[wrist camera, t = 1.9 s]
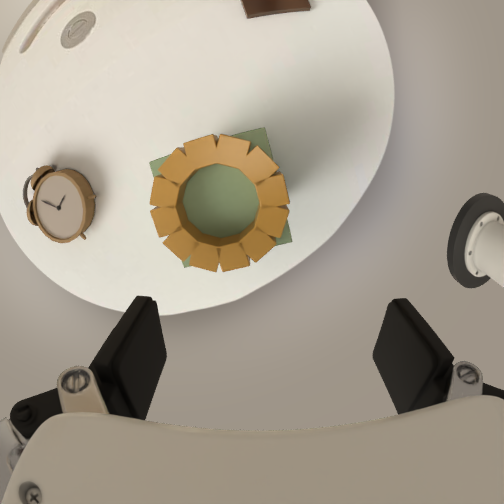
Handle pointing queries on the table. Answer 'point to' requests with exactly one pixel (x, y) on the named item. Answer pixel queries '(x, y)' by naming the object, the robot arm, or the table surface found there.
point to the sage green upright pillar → (223, 195)
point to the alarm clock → (60, 203)
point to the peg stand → (273, 7)
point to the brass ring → (203, 245)
